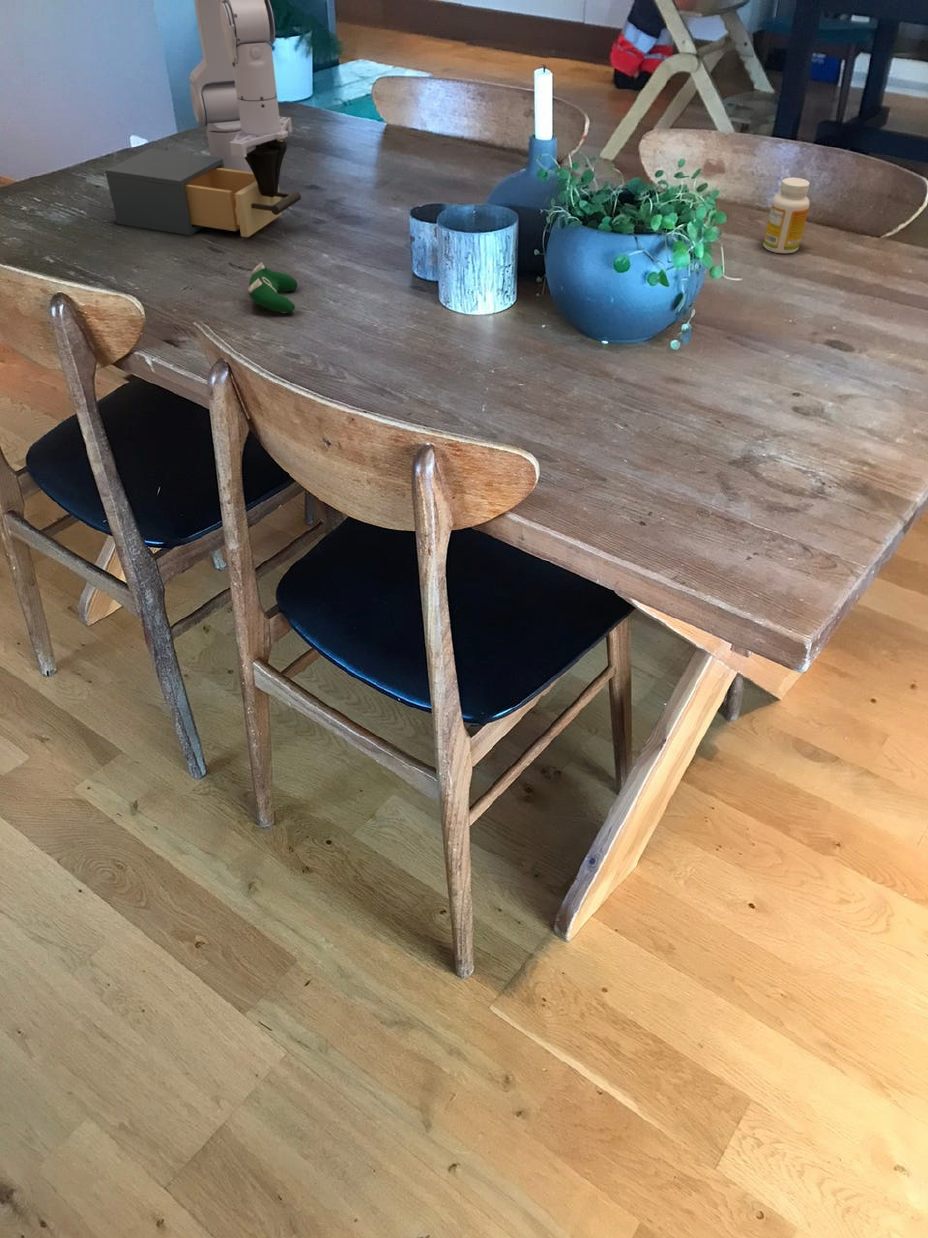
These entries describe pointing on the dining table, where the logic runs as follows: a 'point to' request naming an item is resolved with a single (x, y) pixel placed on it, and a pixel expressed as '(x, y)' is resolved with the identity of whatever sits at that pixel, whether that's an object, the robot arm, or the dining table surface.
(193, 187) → the drawer
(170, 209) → the cabinet
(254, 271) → the green fabric slippers
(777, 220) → the supplement bottle
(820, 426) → the dining table surface
